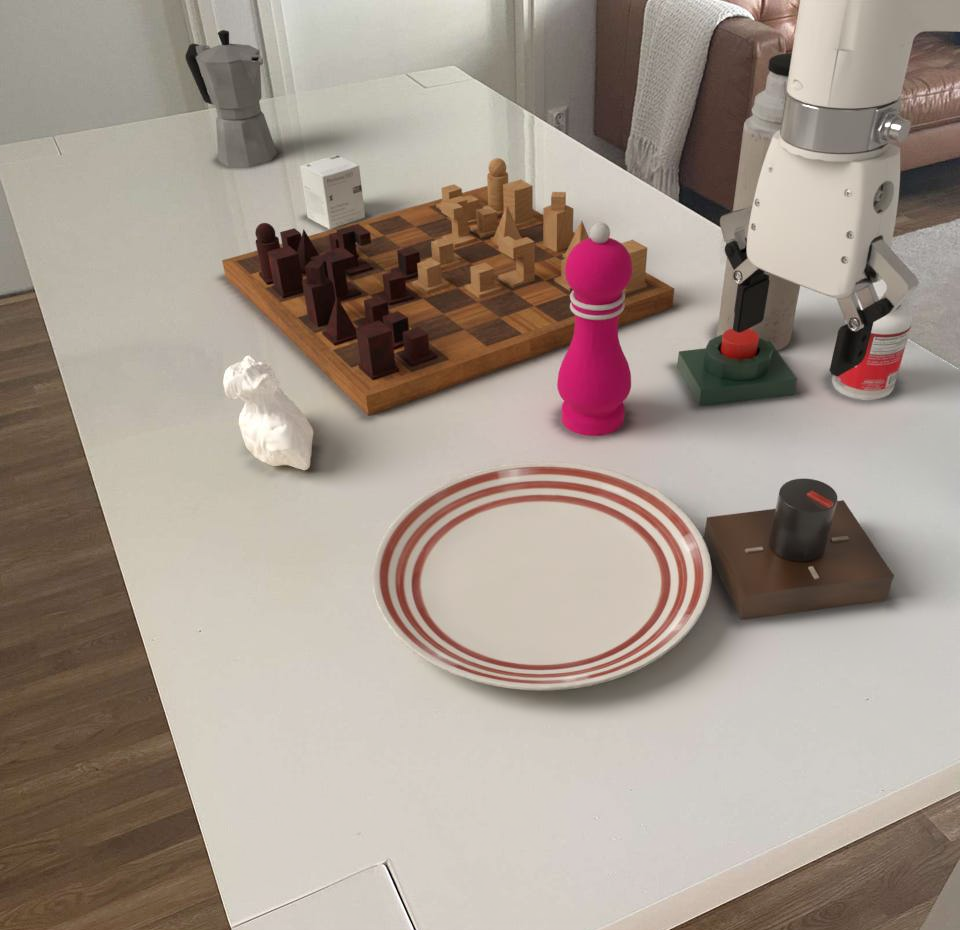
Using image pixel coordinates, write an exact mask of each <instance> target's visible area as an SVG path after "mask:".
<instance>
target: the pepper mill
mask: <svg viewBox="0 0 960 930" xmlns="http://www.w3.org/2000/svg"><path fill="white" fill-rule="evenodd" d="M610 236H611V229H610V227H609V225H607V224H606V222H603V221H599V222H596V223H594V224H593V225H592V226H591V227H590V230H589V238H588V239H585V240H583V241H581V242H580V243H578V244H577V245H576V246H575V247H574V248H573V249H572V250H571V252H570V253H569V255H568V258H567V261H566V267H565V276H566V280H567V282H568V284H569V286H570V287H571V288H572V290H573V291H572V292H571V294H570V300H571V303H570V309H571V311H572V312H573V313H574V314H575V329H574V335H573V339H572V342H571V344H569V346H568V349H567V351H566V352H565V355H564V357H563V359H562V360H561V363H560V366H559V370H558V374H557V381H556V388H557V392H558V394H559V396H560V398H561V399H562V400H563V403H561V422H562V424H563V427H565V428H566V429H567V430H569V431H570V432H572V433H575V434H577V435H580V436H586V437H587V436H588V437H596V436H597V437H598V436H605V435H609V434H613V433H614V432H616V431H618V430H619V429H620V428H621V427H622V426H623V424H624V422H625V409H626V408H625V403H624V401H625V400H626V399H627V398H628V396H629V395H630V393H631V389H632V374H631V373H632V372H631V369H630V365H629V362H628V360H627V358H626V356H625V354H624V352H623V349H622V346H621V342H620V339H619V326H618V319H619V314H620V313H621V312H622V311H623V310H624V306H625V305H624V299H625V294H624V292H623V290H624V289H625V288H626V286H627V285H628V283H629V282H630V279H631V276H632V261H631V257H630V254H629V253H628V251H627V249H626V248H625V247H624V246H623V245H622V244H621V243H622V242H620V241H619V240H617V239H614V238H611V237H610Z"/></svg>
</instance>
